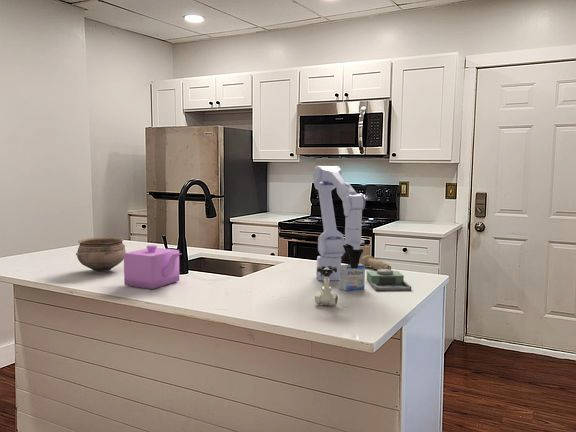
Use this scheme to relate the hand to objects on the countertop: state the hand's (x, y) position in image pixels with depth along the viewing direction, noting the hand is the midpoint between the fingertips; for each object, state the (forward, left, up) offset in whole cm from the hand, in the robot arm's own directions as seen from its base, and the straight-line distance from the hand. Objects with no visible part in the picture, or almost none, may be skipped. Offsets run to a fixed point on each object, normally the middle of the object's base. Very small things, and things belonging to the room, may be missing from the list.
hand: (352, 266), depth 182 cm
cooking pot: (-98, +35, -8) cm, 104 cm away
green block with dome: (+14, +9, -8) cm, 18 cm away
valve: (-12, -21, -8) cm, 26 cm away
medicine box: (0, 0, -8) cm, 8 cm away
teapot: (-72, +11, -8) cm, 73 cm away
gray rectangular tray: (+14, 0, -8) cm, 16 cm away
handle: (+20, +25, -6) cm, 33 cm away
